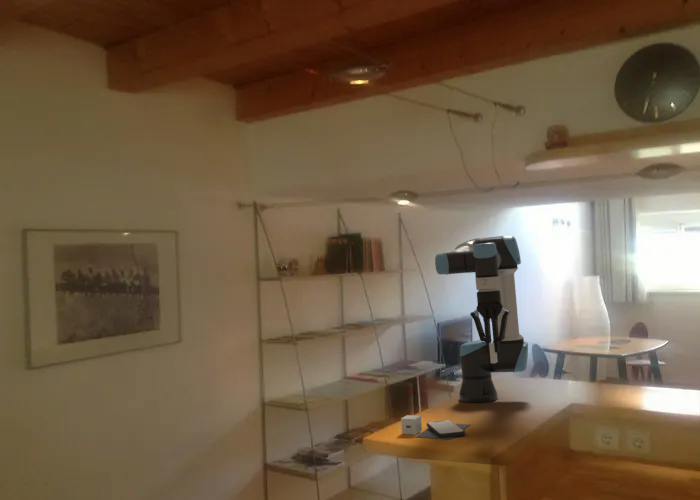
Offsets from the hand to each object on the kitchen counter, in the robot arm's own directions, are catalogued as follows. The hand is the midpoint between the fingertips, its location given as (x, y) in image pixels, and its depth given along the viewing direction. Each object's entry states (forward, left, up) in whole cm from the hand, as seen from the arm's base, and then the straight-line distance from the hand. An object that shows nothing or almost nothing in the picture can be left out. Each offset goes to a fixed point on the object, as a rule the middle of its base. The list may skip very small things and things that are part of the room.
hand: (494, 362), depth 207 cm
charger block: (+10, -27, -22) cm, 36 cm away
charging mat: (+6, -17, -22) cm, 28 cm away
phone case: (+7, -16, -22) cm, 28 cm away
